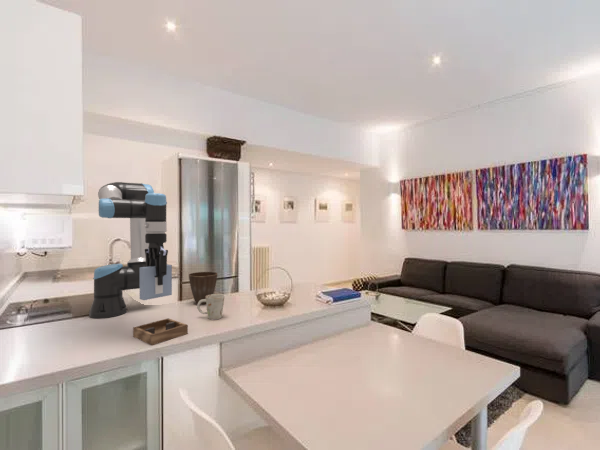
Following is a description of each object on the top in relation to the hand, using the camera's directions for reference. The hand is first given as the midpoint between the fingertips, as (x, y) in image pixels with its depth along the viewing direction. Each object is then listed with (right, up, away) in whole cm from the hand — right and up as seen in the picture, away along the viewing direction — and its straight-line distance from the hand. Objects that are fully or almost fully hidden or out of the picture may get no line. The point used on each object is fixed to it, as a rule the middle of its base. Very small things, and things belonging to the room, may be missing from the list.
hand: (156, 292), depth 117 cm
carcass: (+3, -16, -2) cm, 16 cm away
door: (0, -2, 0) cm, 2 cm away
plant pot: (+4, -16, +46) cm, 49 cm away
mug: (+15, -16, +20) cm, 30 cm away
